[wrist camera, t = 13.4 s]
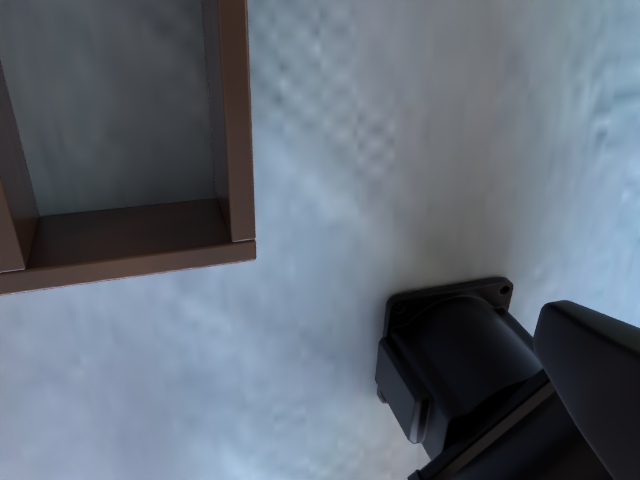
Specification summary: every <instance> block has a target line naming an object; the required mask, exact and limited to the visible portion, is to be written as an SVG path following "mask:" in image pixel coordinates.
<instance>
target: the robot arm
mask: <svg viewBox="0 0 640 480" xmlns="http://www.w3.org/2000/svg"><path fill="white" fill-rule="evenodd" d="M502 287H503V288H502ZM501 288H502V289H501ZM512 292H513V284H512V282H510V281H509V280H508V279H507V278H506V277H499V278H493V279H487V280H481V281H475V282H469V283H463V284H457V285H451V286H445V287H439V288H433V289H427V290H421V291H415V292H409V293H403V294H397V295H394V296H392V297H391V298H390V299H389V300H388V301H387V304H386V311H385V321H384V330H383V337H382V338H381V340H380V342H379V346H378V356H377V366H376V376H375V380H376V382H377V384H378V388H377V395H378V397H379V399H380V401H381V402H382V403H388V404H389V406H390V408H391V410H392V411H393V413H394V415H395V417H396V419H397V421H398V422H399V424H400V426H401V428H402V430H403V432H404V433H405V435H406V437H407V439H408V440H409V441H410V442H412V443H413V444H416V443H420V442H421V444H422V445H423V447H424V449H425V451H426V452H427V454H428V456H429V458H430V459H431V461H430V462H429V463H428V464H427V465H425V466H424V467H423V468H422V469H421V470H418V469H417V470H416V471H415V472H414V473H412V474H411V475H410V476H409V477H408V480H640V328H638V327H635V326H633V325H630V324H628V323H625V322H623V321H620V320H617V319H615V318H612V317H610V316H607V315H605V314H602V313H600V312H597V311H594V310H592V309H589V308H587V307H584V306H582V305H579V304H577V303H574V302H571V301H568V300H561V301H555V302H549V303H547V304H545V305H544V306H543V307H542V309H541V311H540V315H539V318H538V322H537V326H536V329H535V333H534V337H532V336H531V335H530V334H529V333H528V332H527V331H526V330H525V329H524V328H523V327H522V326H521V325H520V323H519V322H518V321H517V320H516V319H515V318H514V317H513V316H512V315H511V314H510V313H509V312H508V308H509V304H510V300H511V296H512ZM398 304H400V306H399V307H397V308H395V307H396V306H397V305H398Z"/></svg>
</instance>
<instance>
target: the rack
mask: <svg viewBox="0 0 640 480" xmlns="http://www.w3.org/2000/svg"><path fill="white" fill-rule="evenodd" d="M202 12H203V26H204V40H205V53H206V67H207V81H208V94H209V108H210V122H211V136H212V149H213V163H214V177H215V190H216V198H215V199H206V200H196V201H187V202H178V203H168V204H159V205H149V206H140V207H131V208H121V209H112V210H103V211H93V212H84V213H75V214H65V215H56V216H47V217H39V212H38V208H37V204H36V200H35V196H34V192H33V188H32V184H31V180H30V176H29V172H28V168H27V164H26V160H25V156H24V152H23V149H22V145H21V141H20V137H19V133H18V129H17V125H16V121H15V117H14V113H13V109H12V105H11V101H10V97H9V93H8V89H7V85H6V81H5V77H4V73H3V69H2V65H1V61H0V296H1V295H9V294H16V293H23V292H30V291H37V290H45V289H52V288H59V287H66V286H73V285H81V284H88V283H95V282H102V281H109V280H117V279H124V278H131V277H138V276H145V275H153V274H160V273H167V272H174V271H181V270H188V269H196V268H203V267H210V266H217V265H224V264H232V263H239V262H246V261H253V260H255V259H256V241H255V237H256V234H255V206H254V178H253V150H252V122H251V94H250V66H249V38H248V10H247V0H202Z"/></svg>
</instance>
